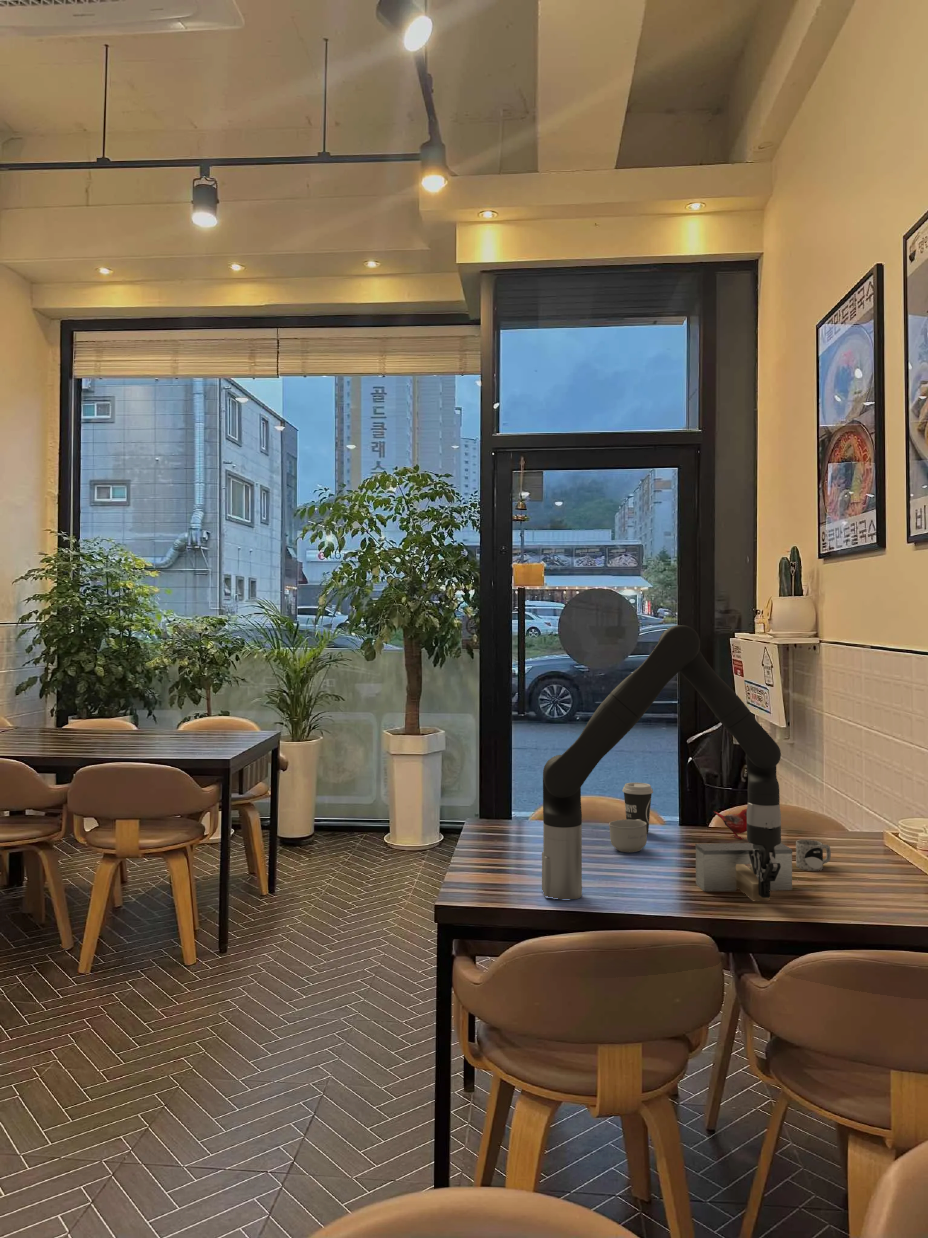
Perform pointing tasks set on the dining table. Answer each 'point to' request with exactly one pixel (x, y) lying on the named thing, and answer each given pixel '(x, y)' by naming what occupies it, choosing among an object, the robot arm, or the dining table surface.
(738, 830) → the decorative bird figurine
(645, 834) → the teacup
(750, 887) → the bar
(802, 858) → the mug
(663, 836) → the dining table surface
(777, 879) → the block
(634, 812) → the coffee cup
